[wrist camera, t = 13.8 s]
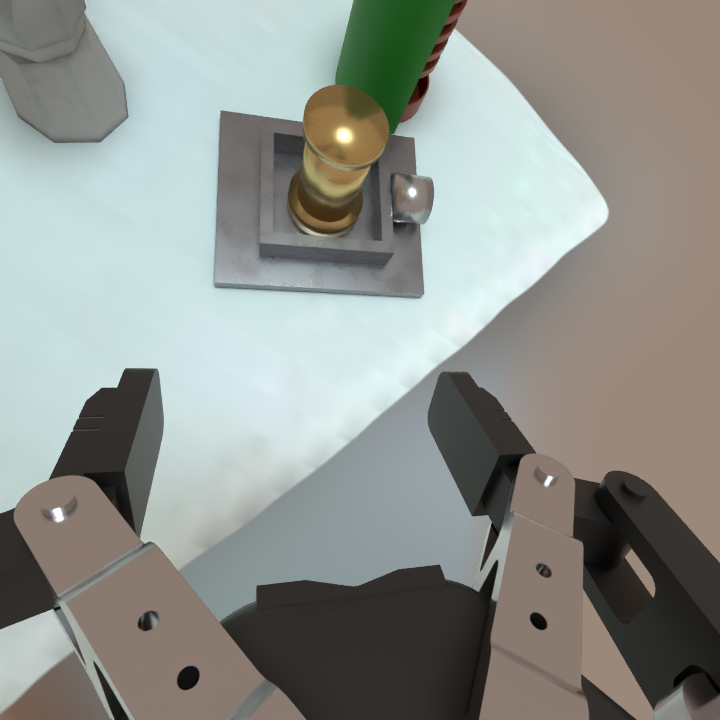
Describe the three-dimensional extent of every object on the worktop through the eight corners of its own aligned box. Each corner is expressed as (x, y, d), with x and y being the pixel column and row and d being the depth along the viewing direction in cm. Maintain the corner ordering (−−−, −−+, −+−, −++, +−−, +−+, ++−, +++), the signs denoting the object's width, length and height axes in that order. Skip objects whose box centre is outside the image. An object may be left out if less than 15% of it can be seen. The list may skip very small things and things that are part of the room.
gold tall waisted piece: (287, 235, 38) (299, 159, 28) (287, 168, 39) (299, 73, 29) (359, 241, 39) (395, 171, 29) (357, 177, 40) (391, 89, 31)
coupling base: (215, 286, 36) (209, 261, 31) (221, 118, 39) (217, 72, 35) (420, 297, 40) (442, 276, 36) (410, 145, 44) (430, 107, 39)
